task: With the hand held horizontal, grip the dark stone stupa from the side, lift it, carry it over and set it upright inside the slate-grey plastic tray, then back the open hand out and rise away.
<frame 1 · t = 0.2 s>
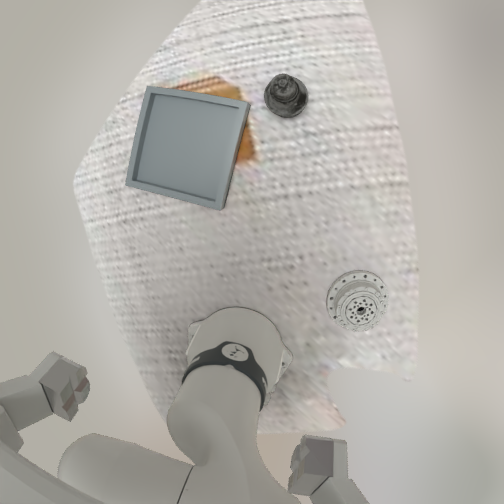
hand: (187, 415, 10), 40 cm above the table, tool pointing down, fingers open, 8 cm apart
mechanical component: (356, 298, 50), on the table
dark stone stupa: (287, 100, 43), on the table
tray: (187, 144, 47), on the table
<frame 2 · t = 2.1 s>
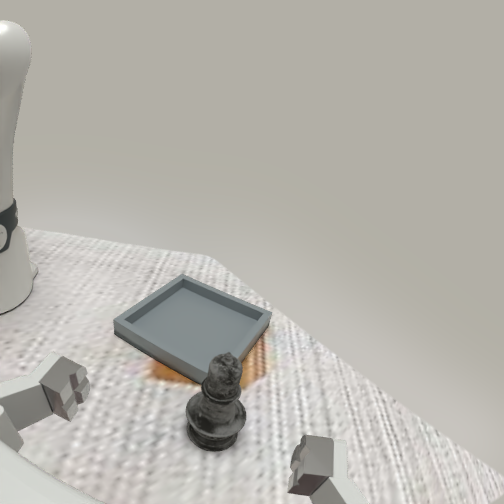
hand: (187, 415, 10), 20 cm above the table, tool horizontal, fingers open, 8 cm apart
dark stone stupa: (212, 431, 30), on the table
tray: (195, 331, 44), on the table
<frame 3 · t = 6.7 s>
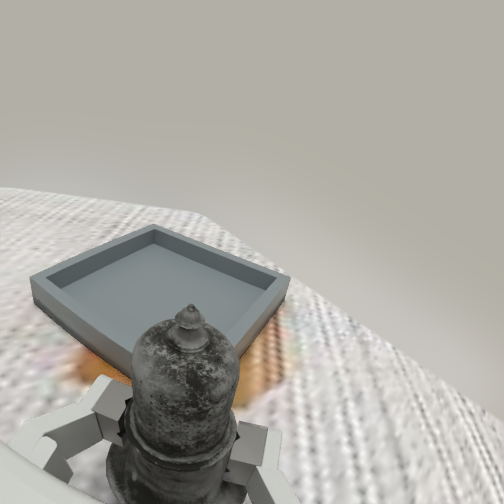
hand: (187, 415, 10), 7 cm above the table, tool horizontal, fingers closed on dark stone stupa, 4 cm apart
dark stone stupa: (176, 496, 12), on the table, touching gripper
tray: (163, 304, 26), on the table
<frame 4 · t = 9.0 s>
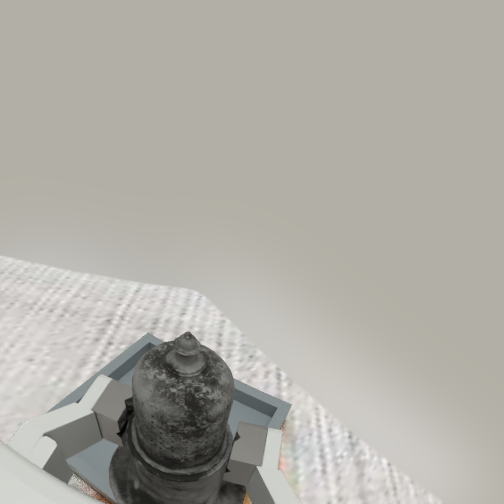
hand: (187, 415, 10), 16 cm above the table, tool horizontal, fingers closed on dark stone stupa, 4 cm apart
dark stone stupa: (176, 501, 12), point 8 cm above the table, touching gripper
tray: (164, 438, 23), on the table
when the fingers open (9 cm above the table, at t = 11.6 s): dark stone stupa stays where it is, resting on tray.
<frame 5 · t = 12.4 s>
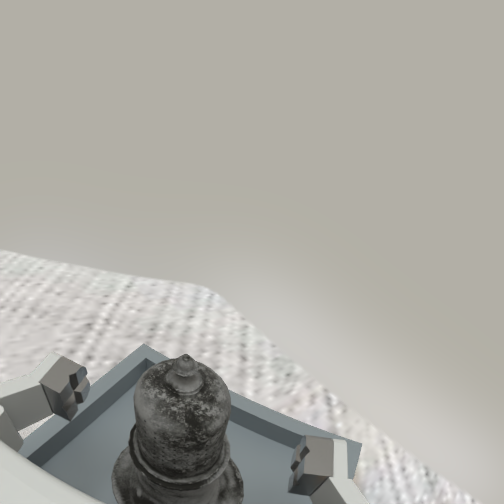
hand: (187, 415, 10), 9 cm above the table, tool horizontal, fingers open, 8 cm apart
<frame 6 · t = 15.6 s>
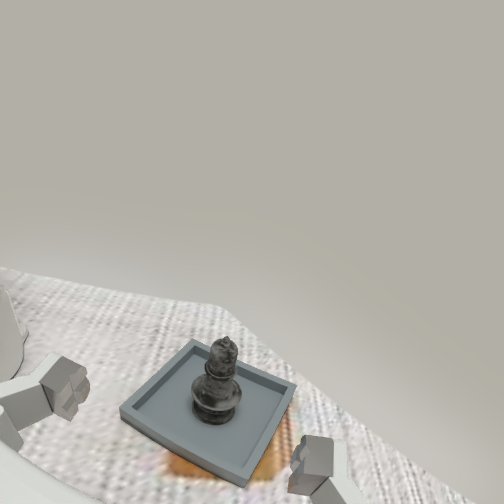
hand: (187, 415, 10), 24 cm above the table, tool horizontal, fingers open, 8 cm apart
dark stone stupa: (213, 409, 36), point 1 cm above the table, touching tray
tray: (212, 411, 36), on the table
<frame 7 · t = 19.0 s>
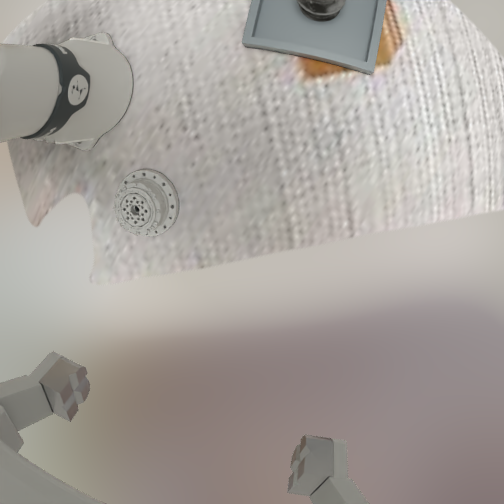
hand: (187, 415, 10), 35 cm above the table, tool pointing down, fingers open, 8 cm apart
mechanical component: (149, 201, 46), on the table
dark stone stupa: (319, 4, 30), point 1 cm above the table, touching tray
tray: (319, 5, 31), on the table
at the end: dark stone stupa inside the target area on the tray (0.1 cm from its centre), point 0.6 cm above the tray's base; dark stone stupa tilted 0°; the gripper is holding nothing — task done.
